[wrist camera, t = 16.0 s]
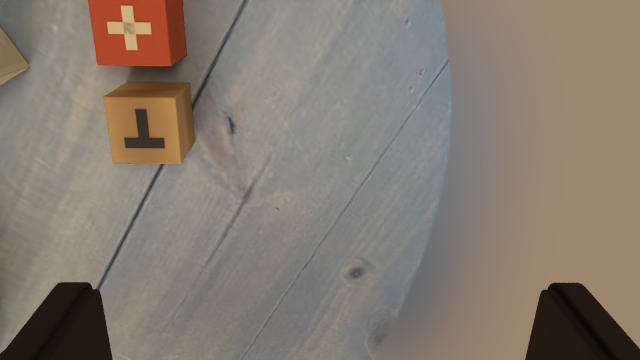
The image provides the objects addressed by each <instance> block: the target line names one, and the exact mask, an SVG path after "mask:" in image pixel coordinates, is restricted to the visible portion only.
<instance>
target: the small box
mask: <svg viewBox="0 0 640 360" xmlns="http://www.w3.org/2000/svg"><path fill="white" fill-rule="evenodd" d="M28 68H29V64H28V63H27V62H26V60H25V59H24V57H23V56H22V55H21V53H20V52H19V51H18V50H17V48H16V47H15V45H14V44H13V43H12V41H11V40H10V39H9V37H8V36H7V35H6V33H5V32H4V31H3V30H2V28H1V27H0V85H2V84H3V83H5V82H7V81H8V80H10V79H12V78H13V77H15V76H16V75H18V74H20V73H21V72H23V71H24V70H26V69H28Z"/></svg>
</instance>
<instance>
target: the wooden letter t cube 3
mask: <svg viewBox="0 0 640 360" xmlns="http://www.w3.org/2000/svg"><path fill="white" fill-rule="evenodd" d="M104 104H105V110H106V117H107V124H108V130H109V137H110V144H111V150H112V157H113V163H141V164H181V163H182V162H183V160H184V159H185V157H186V155H187V154H188V152H189V151H190V149H191V147H192V146H193V144H194V143H195V139H194V127H193V114H192V102H191V90H190V83H155V82H126V83H125V84H123V85H122V86H120V87H118V88H117V89H115V90H114V91H112V92H111V93H109V94H107V95H106V96H104Z"/></svg>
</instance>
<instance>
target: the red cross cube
mask: <svg viewBox="0 0 640 360" xmlns="http://www.w3.org/2000/svg"><path fill="white" fill-rule="evenodd" d="M88 3H89V10H90V16H91V23H92V30H93V36H94V43H95V50H96V56H97V63H98V65H113V66H172V65H173V64H175V63H176V62H177V61H179V60H180V59H181V58H183V57H184V56H186V54H187V53H186V40H185V28H184V16H183V4H182V0H88Z"/></svg>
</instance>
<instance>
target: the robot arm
mask: <svg viewBox="0 0 640 360" xmlns="http://www.w3.org/2000/svg"><path fill="white" fill-rule="evenodd" d="M0 360H112V354H111V348H110V343H109V337H108V332H107V326H106V320H105V315H104V309H103V304H102V298H101V294H100V291H99V290H97V289H92V286H91V285H90V283H88V282H61V283H58V284H57V285H56V286H55V287H54V288H53V290H52V291H51V292H50V293H49V295H48V296H47V297H46V298H45V300H44V301H43V302H42V304H41V305H40V306H39V307H38V309H37V310H36V311H35V312H34V314H33V315H32V316H31V318H30V319H29V320H28V321H27V323H26V324H25V325H24V326H23V328H22V329H21V330H20V331H19V333H18V334H17V335H16V337H15V338H14V339H13V340H12V342H11V343H10V344H9V345H8V347H7V348H6V349H5V350H4V351H3V352H2V353H1V354H0ZM525 360H640V349H639V348H638V346H637V345H636V344H635V343H634V342H633V341H632V340H631V338H630V337H629V336H628V335H627V334H626V333H625V332H624V330H623V329H622V328H621V327H620V326H619V325H618V324H617V323H616V321H615V320H614V319H613V318H612V317H611V316H610V315H609V313H608V312H607V311H606V310H605V309H604V308H603V307H602V306H601V304H600V303H599V302H598V301H597V300H596V299H595V298H594V296H593V295H592V294H591V293H590V292H589V291H588V290H587V289H586V287H584V286H583V285H582V284H580V283H552V284H550V286H549V287H548V290H543V291H542V292H541V294H540V297H539V302H538V306H537V310H536V314H535V319H534V324H533V328H532V332H531V336H530V341H529V345H528V350H527V354H526V358H525Z"/></svg>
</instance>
